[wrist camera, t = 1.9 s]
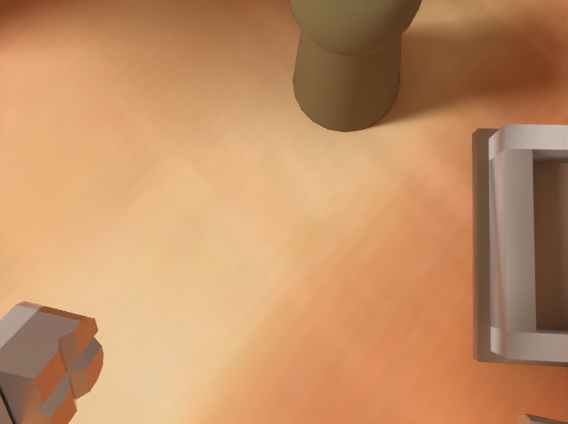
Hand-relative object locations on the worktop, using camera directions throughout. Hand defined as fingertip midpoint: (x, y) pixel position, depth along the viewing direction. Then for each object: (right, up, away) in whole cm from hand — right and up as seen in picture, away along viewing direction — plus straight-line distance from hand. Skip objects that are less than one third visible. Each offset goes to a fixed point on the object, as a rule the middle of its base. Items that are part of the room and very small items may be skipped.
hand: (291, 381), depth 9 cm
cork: (+3, +11, +19) cm, 22 cm away
